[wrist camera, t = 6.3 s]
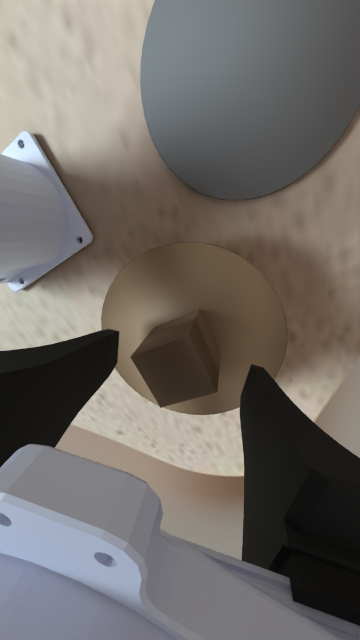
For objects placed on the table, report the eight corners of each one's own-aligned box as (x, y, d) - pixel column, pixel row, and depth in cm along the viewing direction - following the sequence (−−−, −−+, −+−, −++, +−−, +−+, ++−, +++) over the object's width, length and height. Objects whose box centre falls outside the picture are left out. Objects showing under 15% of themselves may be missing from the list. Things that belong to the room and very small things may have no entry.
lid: (156, 420, 17) (134, 475, 13) (77, 291, 15) (21, 312, 11) (310, 382, 14) (341, 442, 10) (240, 201, 11) (245, 185, 7)
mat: (199, 235, 16) (198, 236, 15) (105, 40, 13) (101, 35, 13) (406, 117, 12) (411, 114, 11) (331, -201, 9) (335, -219, 9)
